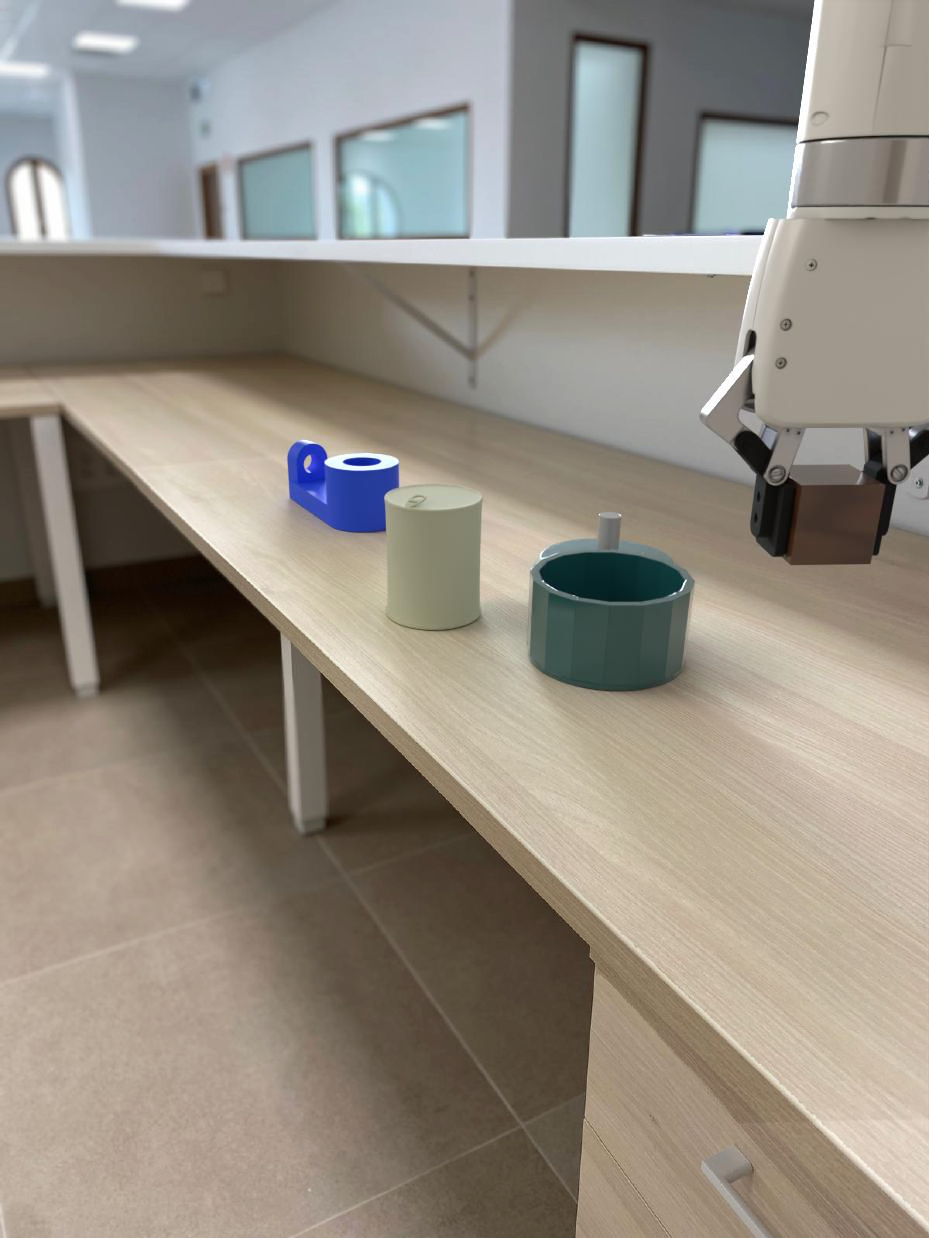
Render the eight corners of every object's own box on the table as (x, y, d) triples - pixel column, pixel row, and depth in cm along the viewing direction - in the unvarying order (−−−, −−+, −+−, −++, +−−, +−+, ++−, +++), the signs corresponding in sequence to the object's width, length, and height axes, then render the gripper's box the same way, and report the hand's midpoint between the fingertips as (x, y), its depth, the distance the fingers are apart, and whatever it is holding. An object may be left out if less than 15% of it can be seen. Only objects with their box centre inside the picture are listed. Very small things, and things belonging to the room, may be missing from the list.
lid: (656, 548, 109) (662, 497, 106) (688, 593, 95) (695, 536, 93) (532, 548, 108) (535, 496, 106) (547, 593, 95) (550, 535, 92)
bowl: (663, 624, 88) (671, 549, 85) (702, 690, 76) (713, 605, 73) (520, 624, 87) (523, 549, 85) (536, 691, 75) (540, 605, 72)
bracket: (413, 523, 116) (413, 463, 113) (351, 536, 111) (349, 474, 108) (333, 490, 131) (331, 436, 128) (275, 500, 125) (271, 444, 122)
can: (366, 616, 89) (363, 494, 84) (421, 587, 96) (420, 474, 91) (447, 638, 84) (448, 510, 80) (498, 606, 92) (501, 487, 87)
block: (837, 538, 54) (849, 464, 52) (871, 564, 50) (886, 484, 48) (762, 539, 54) (772, 464, 52) (790, 565, 50) (802, 485, 48)
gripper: (999, 190, 48) (928, 526, 55) (678, 188, 47) (649, 529, 55) (1096, 185, 41) (1001, 570, 49) (722, 183, 41) (682, 574, 48)
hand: (815, 545), depth 52 cm, fingers closed on block, 4 cm apart
